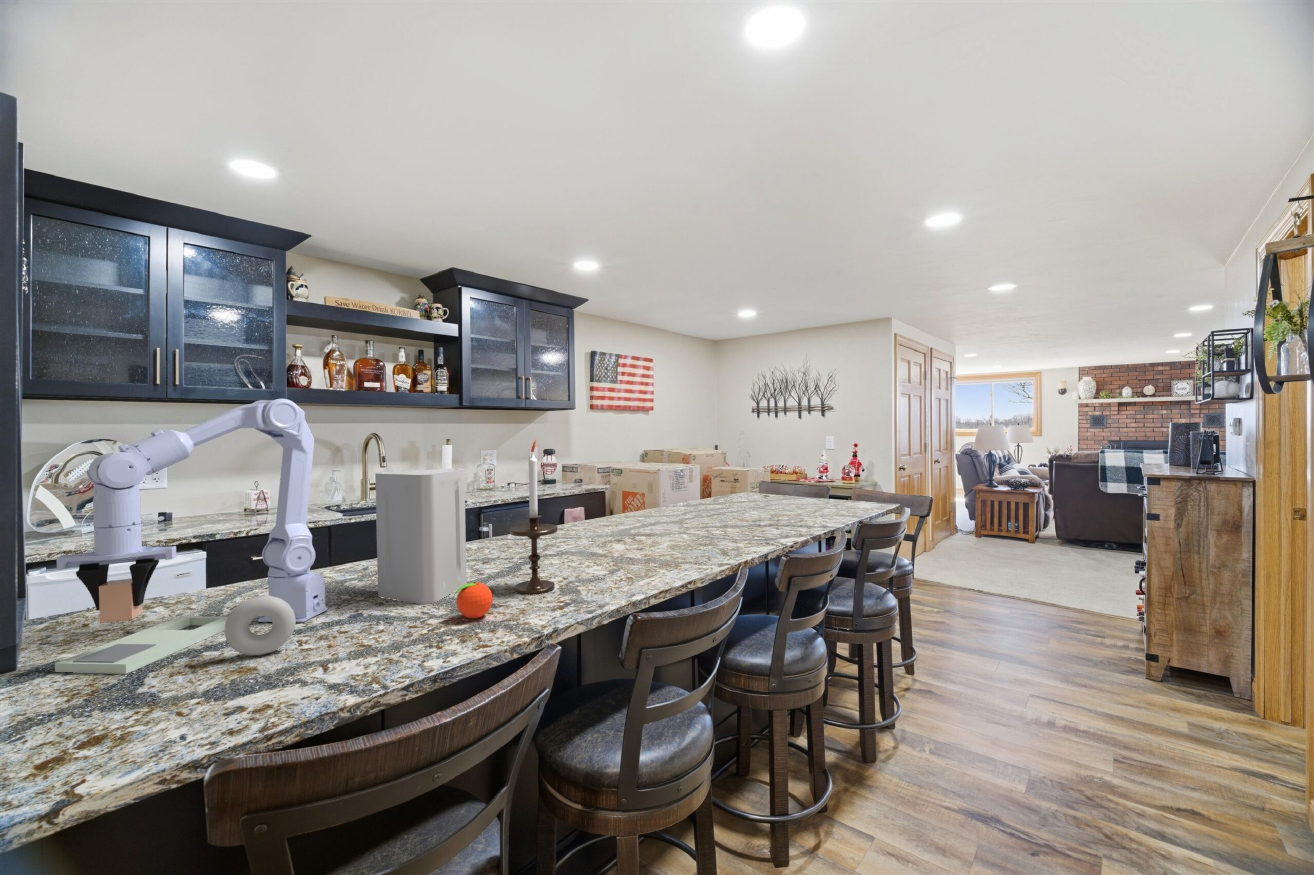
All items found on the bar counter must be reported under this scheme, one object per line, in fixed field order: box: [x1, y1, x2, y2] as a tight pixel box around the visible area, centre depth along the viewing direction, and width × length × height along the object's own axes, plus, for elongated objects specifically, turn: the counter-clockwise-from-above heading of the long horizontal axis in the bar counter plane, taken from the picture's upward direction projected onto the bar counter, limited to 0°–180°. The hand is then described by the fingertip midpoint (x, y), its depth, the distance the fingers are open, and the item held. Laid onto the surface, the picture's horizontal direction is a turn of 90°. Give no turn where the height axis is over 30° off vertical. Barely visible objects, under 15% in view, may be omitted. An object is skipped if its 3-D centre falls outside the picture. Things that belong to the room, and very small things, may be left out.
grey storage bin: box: [374, 467, 468, 605], centre depth 129 cm, size 19×15×28 cm
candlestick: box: [509, 439, 559, 596], centre depth 132 cm, size 11×11×35 cm
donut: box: [223, 595, 297, 657], centre depth 96 cm, size 10×4×10 cm, turn 118°
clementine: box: [451, 581, 494, 619], centre depth 113 cm, size 8×7×7 cm
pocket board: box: [54, 615, 229, 675], centre depth 100 cm, size 12×22×2 cm, turn 176°
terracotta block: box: [99, 577, 142, 624], centre depth 94 cm, size 4×4×6 cm
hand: (120, 606), depth 94 cm, fingers closed on terracotta block, 4 cm apart
